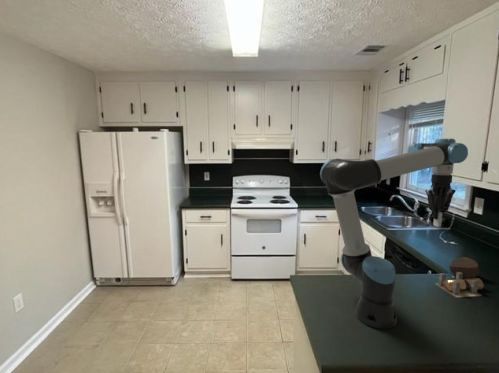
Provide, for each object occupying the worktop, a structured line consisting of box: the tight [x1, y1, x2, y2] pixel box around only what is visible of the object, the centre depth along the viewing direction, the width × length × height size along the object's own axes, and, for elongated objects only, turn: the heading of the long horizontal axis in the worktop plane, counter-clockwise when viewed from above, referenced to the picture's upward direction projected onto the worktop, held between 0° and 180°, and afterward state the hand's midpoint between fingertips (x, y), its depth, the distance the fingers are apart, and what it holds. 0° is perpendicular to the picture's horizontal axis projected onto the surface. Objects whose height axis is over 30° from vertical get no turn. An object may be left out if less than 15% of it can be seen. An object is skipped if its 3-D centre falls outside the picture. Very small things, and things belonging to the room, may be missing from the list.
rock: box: [449, 256, 480, 279], centre depth 144 cm, size 12×10×10 cm
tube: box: [443, 277, 484, 292], centre depth 130 cm, size 16×5×5 cm, turn 96°
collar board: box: [434, 272, 483, 298], centre depth 131 cm, size 13×13×7 cm
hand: (437, 226), depth 125 cm, fingers closed
